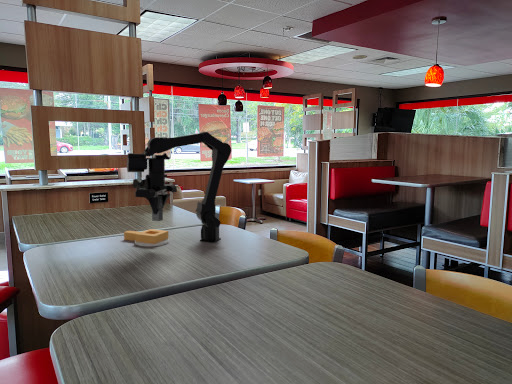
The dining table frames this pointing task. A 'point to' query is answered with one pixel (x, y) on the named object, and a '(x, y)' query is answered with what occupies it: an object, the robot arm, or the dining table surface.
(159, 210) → the dark grey post
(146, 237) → the bracket
